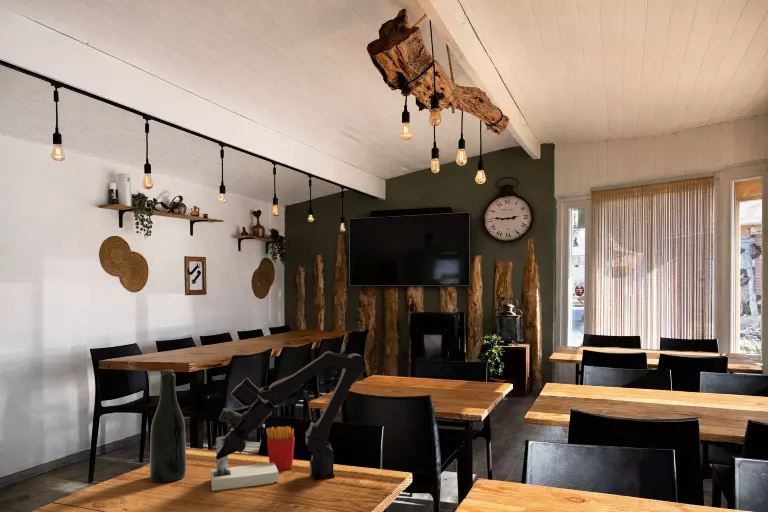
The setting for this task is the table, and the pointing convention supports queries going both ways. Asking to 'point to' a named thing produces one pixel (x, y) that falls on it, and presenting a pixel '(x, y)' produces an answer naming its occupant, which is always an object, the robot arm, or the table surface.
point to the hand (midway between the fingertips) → (217, 456)
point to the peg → (223, 462)
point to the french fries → (281, 446)
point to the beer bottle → (167, 435)
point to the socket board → (245, 476)
